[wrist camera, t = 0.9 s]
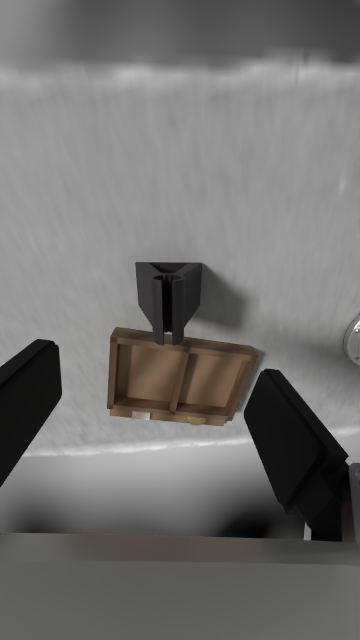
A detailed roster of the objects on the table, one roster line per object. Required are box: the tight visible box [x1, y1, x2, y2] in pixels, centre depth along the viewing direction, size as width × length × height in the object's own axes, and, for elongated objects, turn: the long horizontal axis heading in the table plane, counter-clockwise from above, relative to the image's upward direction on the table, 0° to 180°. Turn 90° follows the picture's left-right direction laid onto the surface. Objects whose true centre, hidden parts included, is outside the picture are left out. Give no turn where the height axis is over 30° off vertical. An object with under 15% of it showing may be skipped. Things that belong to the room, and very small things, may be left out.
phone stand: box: [135, 262, 202, 346], centre depth 22 cm, size 9×6×12 cm, turn 89°
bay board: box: [107, 327, 258, 426], centre depth 33 cm, size 22×18×3 cm
